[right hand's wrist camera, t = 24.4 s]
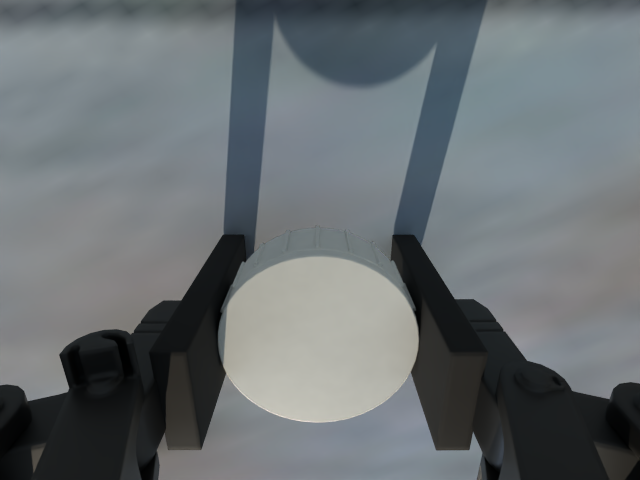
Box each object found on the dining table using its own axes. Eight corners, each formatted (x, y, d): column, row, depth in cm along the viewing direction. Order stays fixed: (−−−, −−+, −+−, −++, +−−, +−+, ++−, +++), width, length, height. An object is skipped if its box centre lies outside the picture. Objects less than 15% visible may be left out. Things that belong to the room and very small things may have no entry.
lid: (431, 338, 13) (451, 381, 11) (284, 398, 14) (279, 448, 12) (360, 192, 11) (369, 215, 9) (195, 274, 12) (173, 309, 10)
